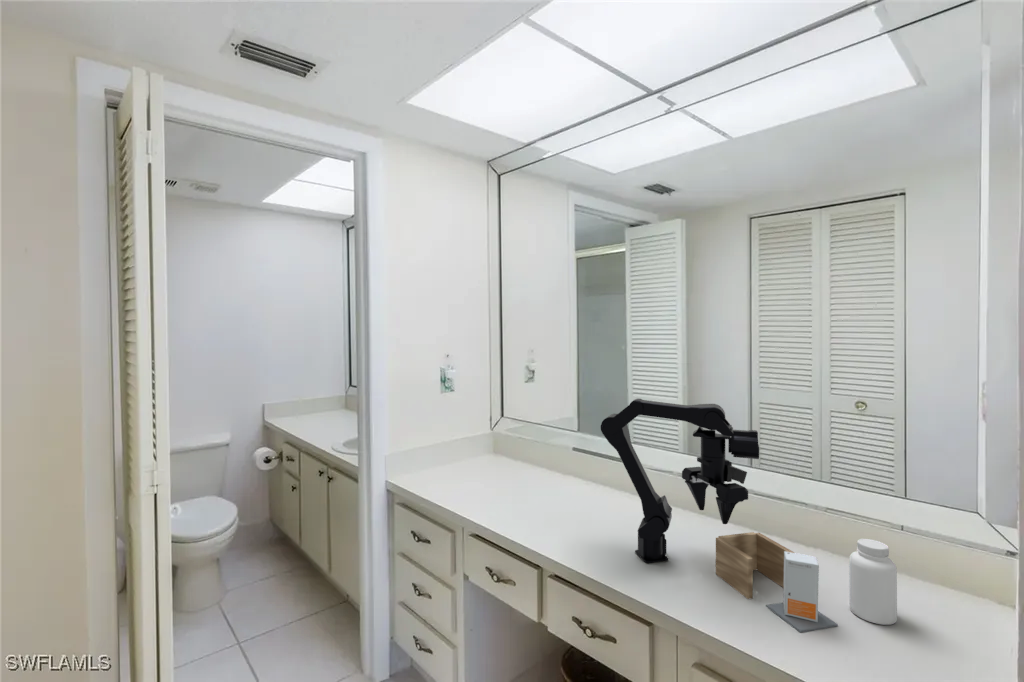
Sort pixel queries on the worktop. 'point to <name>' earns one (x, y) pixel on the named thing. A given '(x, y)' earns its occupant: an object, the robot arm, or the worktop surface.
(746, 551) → the oak bay
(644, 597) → the worktop surface
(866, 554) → the pill bottle
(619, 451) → the robot arm
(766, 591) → the worktop surface
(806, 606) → the skincare box
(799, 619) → the slate pad
